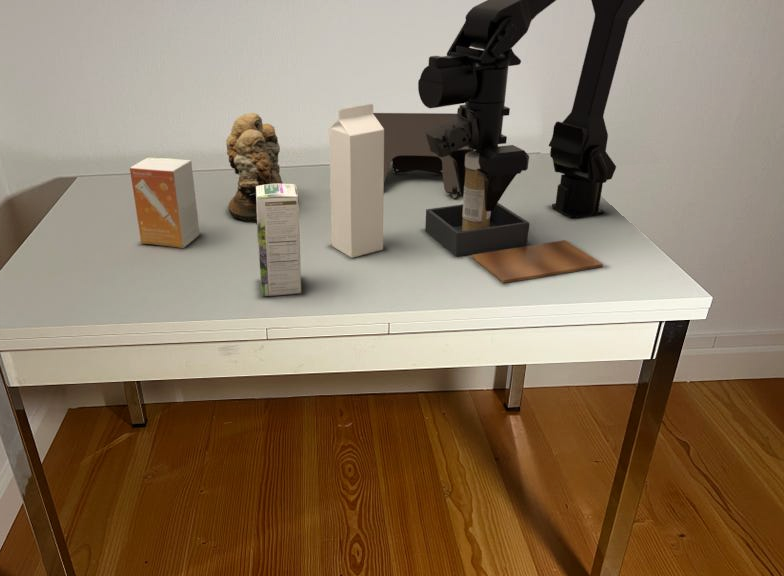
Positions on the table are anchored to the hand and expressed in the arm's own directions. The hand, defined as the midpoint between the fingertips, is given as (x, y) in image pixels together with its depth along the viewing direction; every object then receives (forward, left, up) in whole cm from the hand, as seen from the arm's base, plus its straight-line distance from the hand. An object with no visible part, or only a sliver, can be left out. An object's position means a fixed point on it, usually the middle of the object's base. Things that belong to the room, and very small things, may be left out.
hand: (475, 202), depth 119 cm
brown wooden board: (-4, +12, -6) cm, 14 cm away
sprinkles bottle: (0, 0, -6) cm, 6 cm away
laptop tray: (-3, -31, -6) cm, 32 cm away
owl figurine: (+29, -28, -6) cm, 41 cm away
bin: (0, 0, -6) cm, 6 cm away
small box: (+47, -18, -6) cm, 51 cm away
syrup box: (+34, +7, -6) cm, 35 cm away
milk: (+19, -3, -6) cm, 20 cm away
